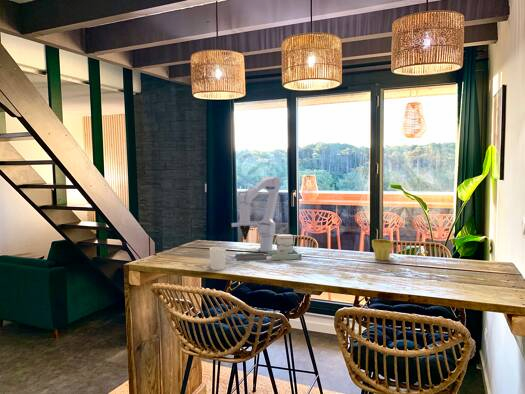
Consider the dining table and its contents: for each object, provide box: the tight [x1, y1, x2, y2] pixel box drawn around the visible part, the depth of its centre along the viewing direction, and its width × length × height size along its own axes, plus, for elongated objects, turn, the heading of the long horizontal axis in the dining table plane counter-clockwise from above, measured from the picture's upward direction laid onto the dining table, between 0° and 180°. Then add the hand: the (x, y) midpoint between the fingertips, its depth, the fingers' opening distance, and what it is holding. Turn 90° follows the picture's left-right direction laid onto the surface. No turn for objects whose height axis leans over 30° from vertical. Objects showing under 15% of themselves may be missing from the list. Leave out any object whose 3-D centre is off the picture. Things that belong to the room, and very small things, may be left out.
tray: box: [267, 248, 302, 261], centre depth 222 cm, size 14×16×2 cm
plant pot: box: [371, 238, 393, 261], centre depth 214 cm, size 10×10×10 cm
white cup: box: [209, 246, 226, 271], centre depth 196 cm, size 8×8×10 cm
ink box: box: [276, 234, 294, 255], centre depth 223 cm, size 8×5×12 cm, turn 99°
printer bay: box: [234, 252, 268, 261], centre depth 219 cm, size 9×16×2 cm, turn 98°
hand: (245, 239), depth 223 cm, fingers closed
